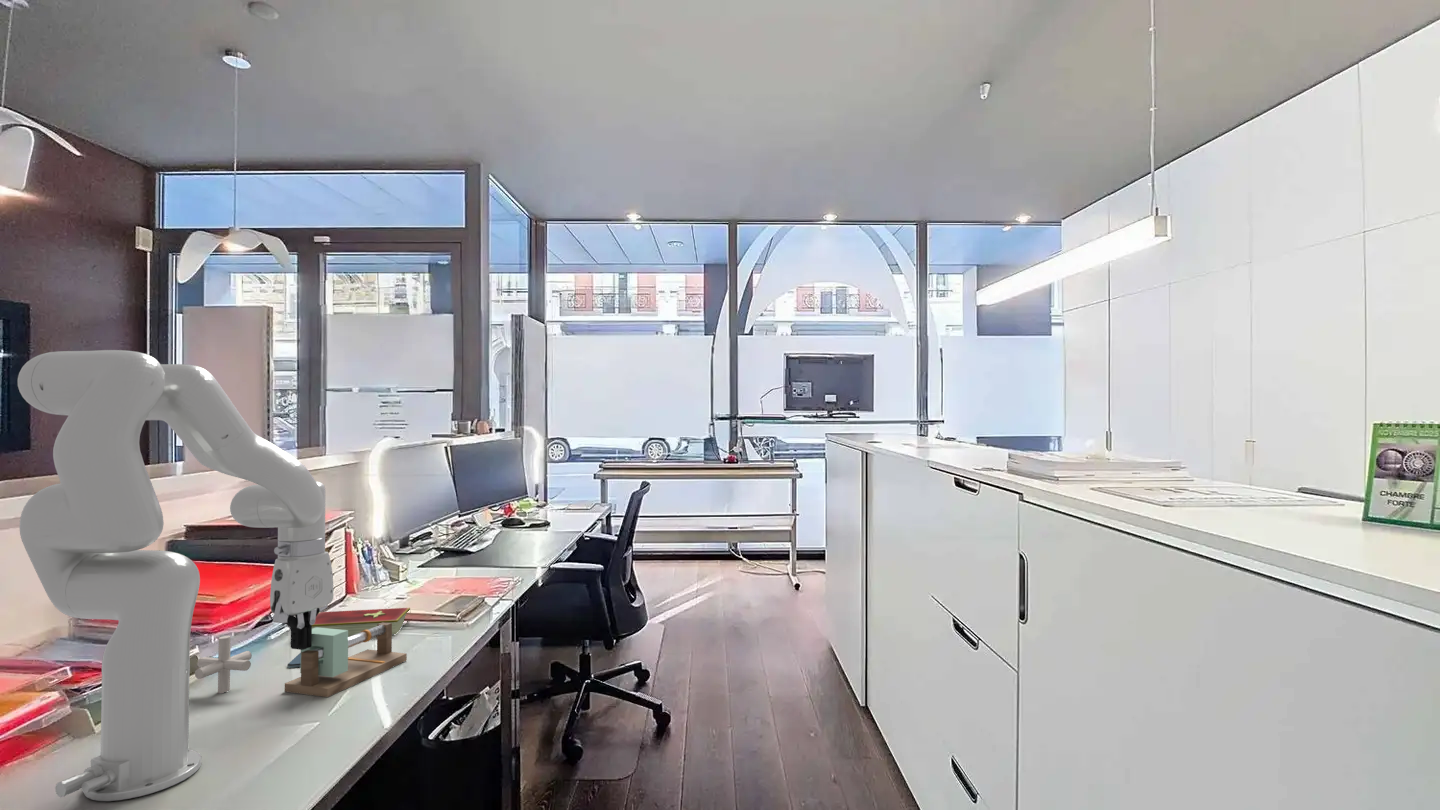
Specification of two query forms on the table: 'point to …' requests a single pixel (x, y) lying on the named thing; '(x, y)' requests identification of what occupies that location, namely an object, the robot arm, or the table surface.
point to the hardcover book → (361, 619)
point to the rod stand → (358, 664)
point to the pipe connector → (223, 664)
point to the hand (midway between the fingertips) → (301, 647)
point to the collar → (330, 650)
